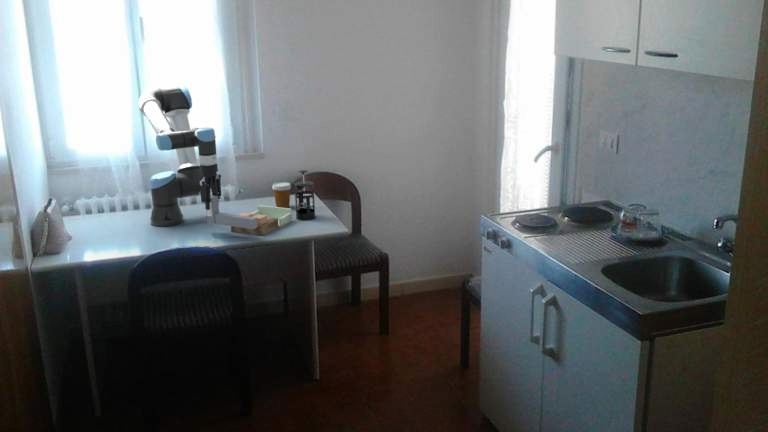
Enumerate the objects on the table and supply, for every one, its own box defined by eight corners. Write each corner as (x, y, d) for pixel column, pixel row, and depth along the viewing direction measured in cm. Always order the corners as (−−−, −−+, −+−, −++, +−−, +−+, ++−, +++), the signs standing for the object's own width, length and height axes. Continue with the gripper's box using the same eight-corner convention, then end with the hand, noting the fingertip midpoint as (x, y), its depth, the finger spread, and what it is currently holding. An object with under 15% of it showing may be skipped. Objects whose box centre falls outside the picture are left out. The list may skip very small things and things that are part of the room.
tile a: (236, 222, 323) (236, 215, 323) (243, 218, 328) (242, 212, 327) (246, 223, 322) (245, 216, 321) (252, 219, 326) (251, 213, 325)
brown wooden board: (231, 231, 324) (230, 222, 322) (247, 223, 335) (246, 214, 334) (263, 235, 317) (262, 226, 316) (278, 226, 328) (278, 218, 327)
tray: (248, 223, 335) (247, 210, 333) (259, 217, 344) (259, 205, 342) (281, 227, 328) (280, 214, 326) (292, 220, 337) (291, 208, 335)
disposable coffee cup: (291, 210, 354) (289, 186, 350) (271, 210, 354) (270, 187, 351) (293, 204, 363) (292, 181, 360) (274, 205, 363) (273, 182, 360)
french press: (319, 219, 339) (316, 171, 332) (300, 222, 335) (297, 174, 328) (310, 212, 349) (307, 166, 342) (291, 215, 345) (289, 169, 338)
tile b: (251, 223, 320) (251, 217, 319) (257, 220, 325) (257, 214, 324) (261, 224, 318) (260, 218, 318) (267, 221, 323) (266, 215, 322)
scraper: (207, 223, 320) (204, 197, 316) (212, 220, 324) (210, 194, 320) (252, 229, 311) (251, 203, 307) (257, 226, 314) (256, 200, 311)
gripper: (203, 169, 304) (208, 221, 311) (227, 159, 318) (231, 209, 326) (189, 167, 306) (194, 219, 314) (213, 158, 321) (217, 208, 329)
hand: (212, 214), depth 320 cm, fingers closed on scraper, 4 cm apart
